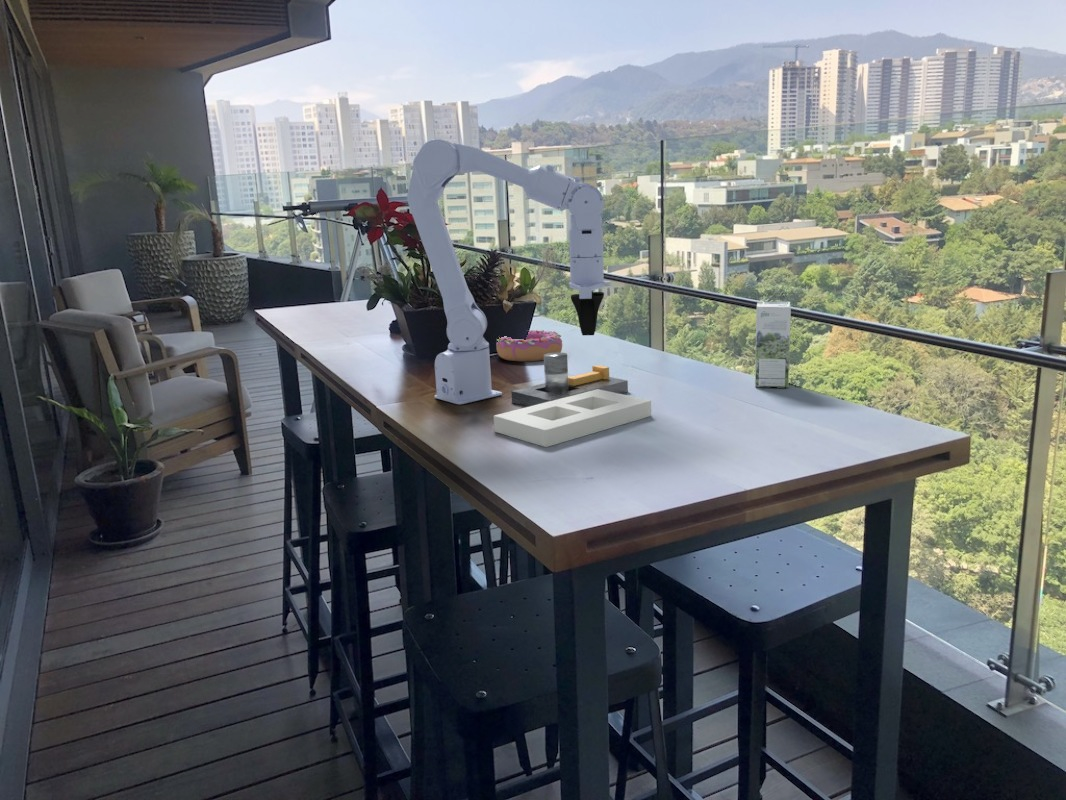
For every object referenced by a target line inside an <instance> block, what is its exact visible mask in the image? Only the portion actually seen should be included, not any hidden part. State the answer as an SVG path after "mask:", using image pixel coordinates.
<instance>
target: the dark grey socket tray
mask: <svg viewBox="0 0 1066 800" xmlns="http://www.w3.org/2000/svg"><path fill="white" fill-rule="evenodd" d="M628 382H629V381H628V380H627V379H621V378H617V377H610V376H609V378H608V379H600V380H596V381H592V382H588V383H584V384H580V385H576V386H573V385H568V388H569V391H567V392H563V393H559V394H551V393H547V392H545V382H543V383H540V384H536V385H531V386H528V387H523V388H519V389H514V390H511V403H513V404H516V405H521V406H524V407H530V406H533V405H537V404H541V403H545V402H549V401H553V400H557V399H561V398H565V397H569V396H573V395H577V394H581V393H585V392H588V391H592V390H596V389H600V390H604V391H609V392H614V393H618V394H624V393H628V392H629V387H628V385H629V383H628Z"/></svg>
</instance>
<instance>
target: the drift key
mask: <svg viewBox="0 0 1066 800" xmlns="http://www.w3.org/2000/svg"><path fill="white" fill-rule="evenodd" d="M609 377H610V367H609V366H604V365H599V364H596V365H592V371H590V372H589V371H588V372H585V373H581V374H576V375H572V376H568V385H573V386H576V385H580V384H584V383H588V382H592V381H596V380H600V379H608V378H609Z"/></svg>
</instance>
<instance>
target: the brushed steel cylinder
mask: <svg viewBox="0 0 1066 800" xmlns="http://www.w3.org/2000/svg"><path fill="white" fill-rule="evenodd" d="M568 362H569V361H568V353H565V352H561V353H547V354H544V360H543V367H544V368H543V369H544V372H543V373H544V383H545V392H547V393H551V394H559V393H563V392H567V391H569V388H568V377H569V370H568V369H569V365H568Z"/></svg>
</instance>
